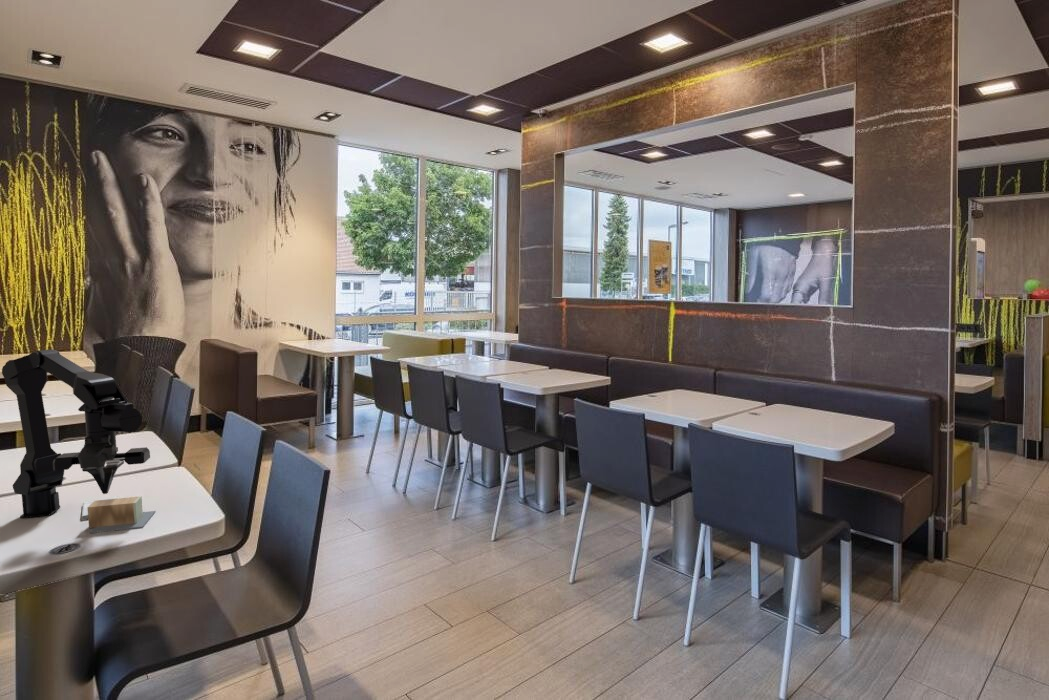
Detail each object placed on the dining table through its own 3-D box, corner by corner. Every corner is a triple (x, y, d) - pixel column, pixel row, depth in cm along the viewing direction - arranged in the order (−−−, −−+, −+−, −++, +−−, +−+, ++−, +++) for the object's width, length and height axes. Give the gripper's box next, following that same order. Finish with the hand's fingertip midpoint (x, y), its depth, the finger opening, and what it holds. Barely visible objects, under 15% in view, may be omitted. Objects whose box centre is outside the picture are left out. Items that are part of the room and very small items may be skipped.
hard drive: (120, 509, 158) (119, 496, 168) (81, 516, 154) (82, 502, 164) (121, 515, 158) (120, 502, 169) (81, 522, 154) (83, 508, 164)
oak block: (87, 507, 147) (135, 502, 150) (94, 500, 152) (141, 496, 155) (89, 527, 148) (137, 522, 151) (96, 520, 153) (142, 515, 156)
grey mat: (89, 533, 145) (89, 531, 145) (105, 516, 156) (105, 515, 156) (143, 527, 148) (143, 526, 148) (155, 511, 159) (155, 510, 159)
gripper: (39, 440, 138) (45, 508, 140) (134, 434, 144) (139, 499, 145) (60, 430, 149) (65, 493, 151) (148, 424, 154) (152, 485, 156)
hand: (105, 493), depth 150 cm, fingers closed
